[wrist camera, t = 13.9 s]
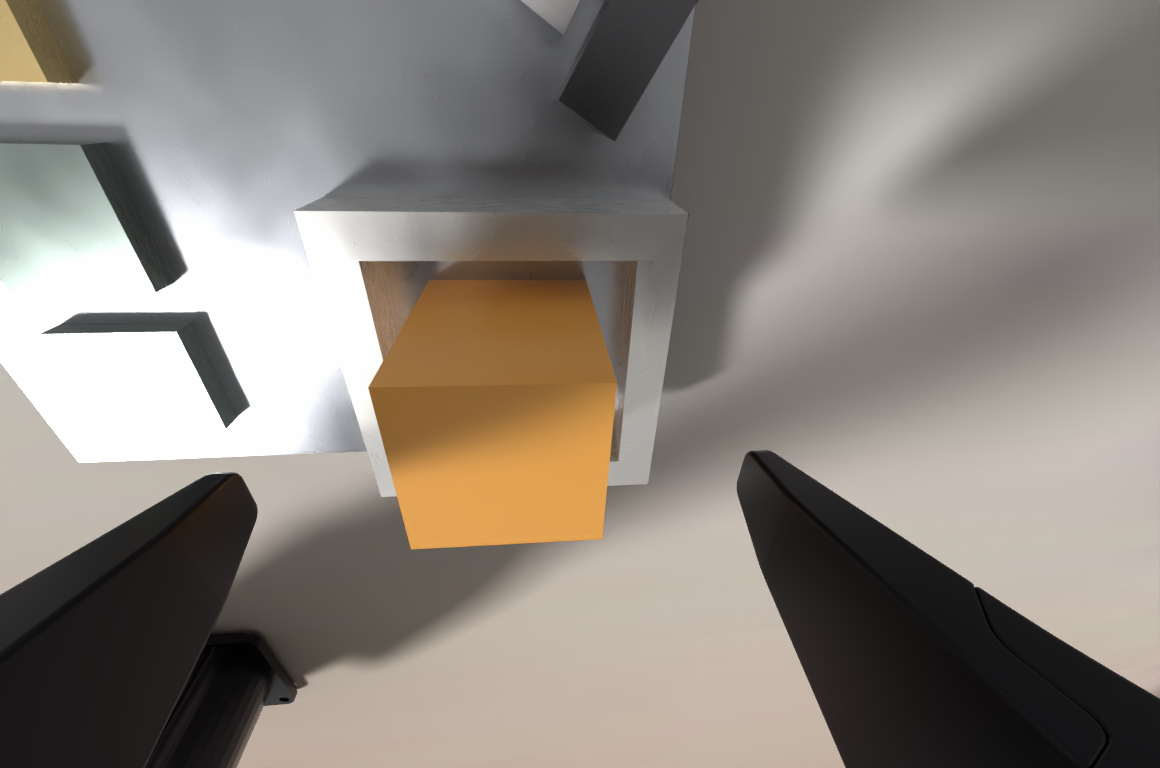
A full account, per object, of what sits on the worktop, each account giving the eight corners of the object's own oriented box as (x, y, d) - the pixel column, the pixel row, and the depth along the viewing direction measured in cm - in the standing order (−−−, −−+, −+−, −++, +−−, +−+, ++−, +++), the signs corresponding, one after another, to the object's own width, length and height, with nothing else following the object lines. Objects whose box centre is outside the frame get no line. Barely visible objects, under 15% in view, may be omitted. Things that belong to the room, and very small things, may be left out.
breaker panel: (629, 416, 17) (654, 496, 13) (137, 433, 15) (26, 528, 12) (702, -256, 8) (817, -499, 5) (-390, -373, 7) (-1307, -842, 3)
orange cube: (580, 405, 14) (602, 539, 10) (448, 408, 13) (410, 549, 9) (586, 280, 12) (617, 382, 7) (429, 279, 11) (368, 387, 7)
